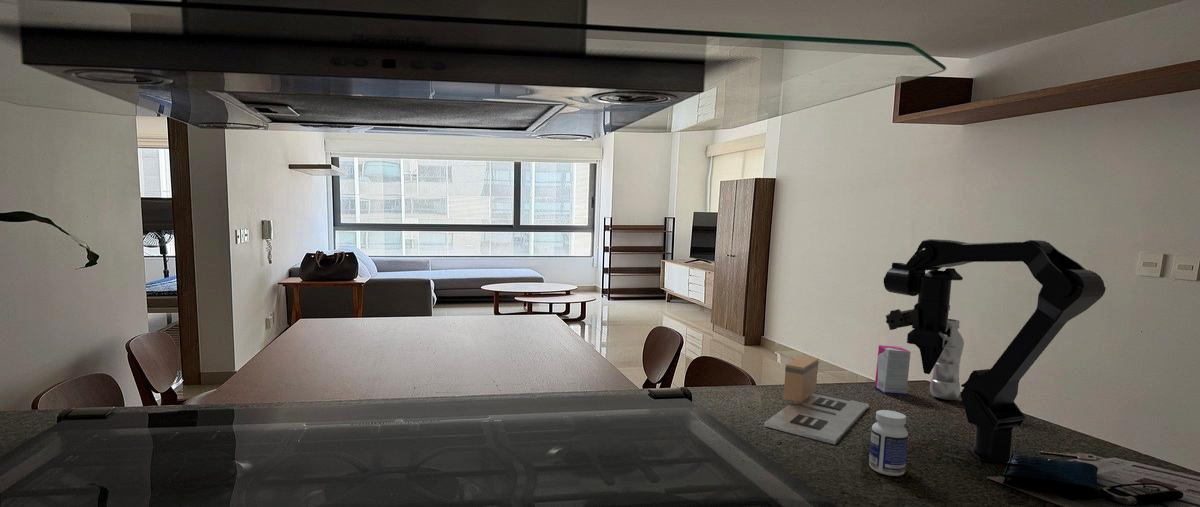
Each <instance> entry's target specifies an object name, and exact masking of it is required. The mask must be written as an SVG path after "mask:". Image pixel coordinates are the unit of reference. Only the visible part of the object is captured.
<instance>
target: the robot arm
mask: <svg viewBox="0 0 1200 507" xmlns="http://www.w3.org/2000/svg"><path fill="white" fill-rule="evenodd" d="M977 262H978V263H981V262H982V263H983V262H984V263H986V262H987V263H989V262H990V263H992V262H993V263H997V262H998V263H999V262H1000V263H1002V262H1003V263H1004V262H1005V263H1007V262H1008V263H1009V262H1012V263H1013V262H1016V263H1017V262H1022V263H1024V264H1025V265H1026V266H1027V268H1028V270H1029V271H1030V274H1031V275H1032V276H1033V278H1034V279H1035V280H1036V281H1037V282H1038V283H1039V284H1040V285H1041V288H1040V290H1039V292H1038V294H1037V303H1036V304H1037V305H1036V309H1035V310H1034V312H1033V313H1032V314H1031V316H1030V317H1029V318H1028V320H1027V321H1026V322H1025V323H1024V325H1023V326H1022V328H1021V329H1020V330H1019V332H1018V333H1017V334H1016V335H1015V336H1014V338H1013V339H1012V341H1011V342H1010V343H1009V345H1008V346H1007V347H1006V348H1005V350H1004V351H1003V352H1002V354H1001V355H1000V356H999V358H998V359H997V360H996V361H995V363H994V364H993V366H992V367H990V368H987V369H976V370H975V369H974V370H972V371H971V373H970V375H969V377H968V378H967V380H966V381H965V382H964V383H963V384H960V388H961V387H962V390H960V395H959V398H960V399H961V402H962V405H963V406H964V410H965V411H964V412H965V415H966V418H967V422H968V423H969V424H971V425H974V426H975V433H974V442H973V444H974V445H965V449H967V450H968V452H970V453H971V454H972V455H973V456H974V457H975V458H977V459H978V460H979V461H981V462H986V463H987V462H989V463H994V464H996V463H997V464H1005V465H1008V464H1007V462H1008V461H1009V459H1010V456H1011V454H1012V453H1011V452H1012V451H1011V450H1012V446H1013V445H1012V443H1013V435H1014V434H1013V432H1014V428H1016V427H1019V428H1020V427H1022V426H1023V425H1024V423H1025V421H1026V416H1025V415H1024V413H1023V411H1022V410H1021V409H1020V408H1019V406H1018V405H1017V404H1016V402H1015V400H1016V398H1017V396H1018V393H1019V383H1020V381H1021V379H1022V378H1023V377H1024V376H1025V375H1026V373H1027V372H1028V371H1029V370H1030V368H1031V367H1032V365H1033V364H1034V363H1035V362H1036V361H1037V360H1038V358H1039V357H1040V356H1041V354H1043V352H1044V351H1045V350H1046V349H1047V347H1048V346H1049V345H1050V344H1051V343H1052V341H1053V340H1054V338H1055V337H1056V336H1057V335H1058V334H1059V332H1060V331H1061V330H1062V329H1063V327H1064V326H1065V325H1066V324H1067V323H1068V322H1069V321H1071V320H1072V319H1074V318H1076V317H1077V316H1079V315H1080V314H1082V313H1084V312H1085V311H1087V310H1089V309H1090V308H1091V307H1092V306H1093V305H1094V304H1095V303H1097V302H1098V301H1099V300H1100V299H1101V298H1103V296H1104V295H1105V292H1106V286H1105V283H1104V280H1103V279H1102V277H1101V276H1100V275H1099V273H1097V272H1095V271H1092V270H1089V269H1086V268H1084V267H1083V265H1082V264H1080V263H1078V262H1077V261H1075V260H1074V259H1072V258H1070V257H1069V256H1067V255H1066V254H1064V253H1062V252H1061V251H1059V249H1057V248H1056V247H1055V246H1054V245H1052V244H1051V243H1050V242H1049V241H1046V240H1040V239H1039V240H1037V239H1028V240H1024V241H1008V242H1005V241H1003V242H1001V241H1000V242H973V243H972V242H971V243H970V242H965V241H957V240H950V239H937V238H936V239H933V238H931V239H929V238H928V239H923V240H922V241H921V243H920V244H919V245H918V246H917V248H916V251H915V252H914V253H913V255H912V256H911V257H910V258H909V259H908V261H907V262H906V263H905V262H904V263H903V262H891V268H888V270H887V271H886V273H885V276H883V286H884V289H885V290H886V291H887V292H889V293H891V294H892V293H893V294H898V295H903V296H911V297H915V296H917V302H916V303H915V304H914V306H913V308H912V309H911V308H910V309H906V310H901V309H899V308H897V309H891V310H890V311H889V313H887V314H886V315H885V318H886V320H885V323H886V324H887V325H888V329H889V331H893V330H897V329H898V328H904V327H905V328H906V327H909V326H911V330H910V331H909V332H908V333H907V336H906V343H907V344H909V345H915V346H916V347H917V348H918V349H919V352H920V359H921V365H922V370H923V374H924V375H930V374H931V372H932V371H933V370H934V366H935V364H936V362H937V360H938V359H939V357H940V355H941V353H942V352H943V350H944V348H945V346H946V344H947V343H948V341H946V340H945V336H944V335H943V334H945V335H947V337H951V335H952V326H951V325H950V324H949V323H948V319H949V311H950V310H951V305H950V300H951V291H952V290H951V289H952V282H953V281H962V280H963V279H964V277H963V276H962V275H961V274H960V273H958V271H957V269H956V268H953V267H957V266H963V265H966V264H971V263H977ZM943 268H946V269H944V270H941V269H943ZM926 271H928V272H927V273H926Z"/></svg>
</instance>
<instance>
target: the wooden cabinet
mask: <svg viewBox="0 0 1200 507" xmlns="http://www.w3.org/2000/svg"><path fill="white" fill-rule="evenodd" d="M819 362H820V361H819V358H817V357H811V356H808V355H807V356H805V355H800V356H799V357H796V358H795V359H793V360H792V361H789V362H787V363H786V364H785V368H784V372H785V373H784V385H783V386H784V387H783V396H782V398H783V399H784V400H789V401H791V402H793V401H797V402H802V401H803V400H805V399H806V398H807V397H809V396H810V395H811V394H813V393H814V392H817V384H818V371H819V370H818V369H819Z"/></svg>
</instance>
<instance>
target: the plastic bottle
mask: <svg viewBox="0 0 1200 507" xmlns="http://www.w3.org/2000/svg"><path fill="white" fill-rule="evenodd" d="M948 323H949V324H950V325H951V326H952V335H951V337H947V335H945V334H943V335H944V336H945V340H946V341H948V343H947V344H946V346H945V348H944V350H943V352H942V353H941V355H940V357H939V359H938V360H937V362H936V364H935V366H934V368H933V370H932V371H933V372H932V376H931V379H930V384H929V393H930V394H931V395H932V396H933V397H935V398H937V399H941V400H945V401H946V400H949V401H955V400H957V399H958V398H960V395H961V384H960V365H961V364H960V363H961V358H962V355H963V350H964V346H965V342H964V338H963V336H962V334H961V333H960V331H959V329H960V320H959V319H953V318H948Z"/></svg>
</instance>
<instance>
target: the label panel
mask: <svg viewBox="0 0 1200 507" xmlns="http://www.w3.org/2000/svg"><path fill="white" fill-rule="evenodd" d="M869 404H870V403H866V402H862V401H857V400H851V398H847V397H842V396H837V395H833V394H828V393H823V392H818V391H815V392H814V393H813V394H811V395H810V396H809V397H807V398H806V399H805V400H803V401H802V402H797V401H791V402H790V403H789V404H788V405H786V406H785V407H784V408H782V409H781V410H779V411H778V412H777V413H775V414H774V415H772V416H771V417H770V418H769V419H767V420H765V421H764V423H763V427H766V428H767V429H768V428H769V429H773V430H777V431H781V432H784V433H788V434H793V435H795V436H799V437H803V438H807V439H812V440H815V441H819V442H822V443H827V444H829V445H830V444H831V445H834V446H835V445H836V444H837V443H838V442H839V441H840V440H841V439H842V437H843V436H844V435H845V434H846V433H847V432H848V431H849V430H850V429H851V427H853V425H854V424H855V423H856V422H857V421H858V419H860V417H861V416H862V415H863V414H864V413H865V411H867V410H868V409H869Z"/></svg>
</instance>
